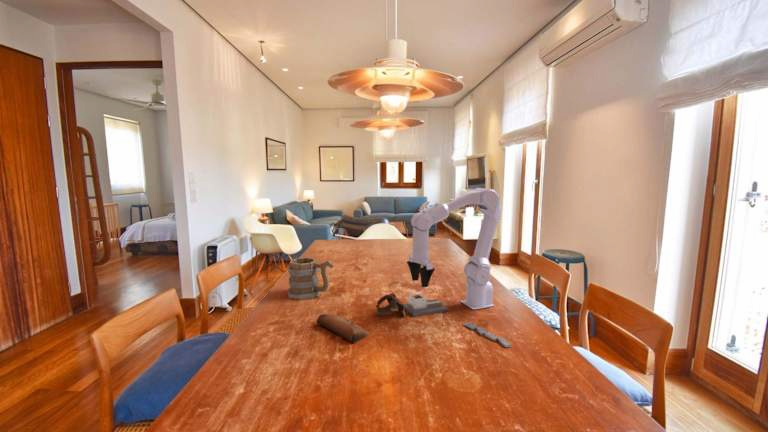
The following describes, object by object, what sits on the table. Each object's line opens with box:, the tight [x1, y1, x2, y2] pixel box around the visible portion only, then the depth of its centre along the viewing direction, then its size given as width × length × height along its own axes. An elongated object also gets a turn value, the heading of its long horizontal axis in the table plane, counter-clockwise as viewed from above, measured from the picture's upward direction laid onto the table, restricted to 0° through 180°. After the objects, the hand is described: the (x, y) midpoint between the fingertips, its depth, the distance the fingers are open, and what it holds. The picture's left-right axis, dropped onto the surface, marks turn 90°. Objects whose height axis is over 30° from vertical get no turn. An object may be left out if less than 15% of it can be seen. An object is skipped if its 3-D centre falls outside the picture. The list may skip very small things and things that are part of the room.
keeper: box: [402, 299, 449, 317], centre depth 120 cm, size 14×9×4 cm, turn 111°
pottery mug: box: [375, 292, 406, 318], centre depth 116 cm, size 12×10×8 cm
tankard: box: [286, 257, 335, 301], centre depth 133 cm, size 20×13×15 cm, turn 68°
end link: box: [407, 293, 428, 311], centre depth 119 cm, size 5×5×4 cm
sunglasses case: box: [316, 313, 371, 345], centre depth 104 cm, size 18×7×7 cm
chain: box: [464, 321, 512, 348], centre depth 101 cm, size 3×17×1 cm, turn 34°
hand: (419, 283), depth 119 cm, fingers open, 7 cm apart
